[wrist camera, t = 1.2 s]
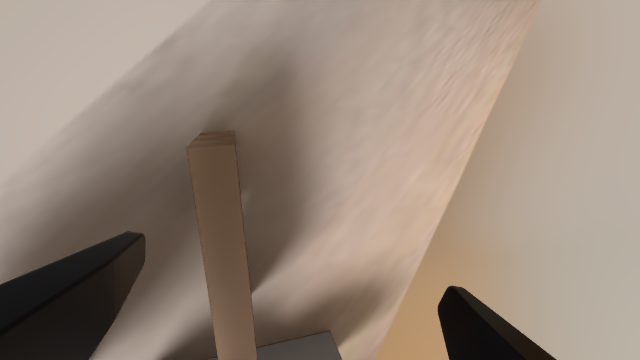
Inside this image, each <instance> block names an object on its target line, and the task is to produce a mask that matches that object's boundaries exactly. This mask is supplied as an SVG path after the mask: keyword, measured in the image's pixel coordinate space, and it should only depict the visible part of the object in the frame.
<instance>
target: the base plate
mask: <svg viewBox="0 0 640 360" xmlns="http://www.w3.org/2000/svg"><path fill="white" fill-rule="evenodd" d="M256 353H257V360H342V358H341V356H340V353H339V351H338V348H337V346H336V344H335V341H334V339H333V336H332V334H331V332H330V331H328V332H323V333H319V334H315V335H310V336H306V337H302V338H297V339H293V340H289V341H284V342H280V343H276V344H272V345H267V346H263V347H259V348H256ZM207 360H218V357H216V358H211V359H207Z"/></svg>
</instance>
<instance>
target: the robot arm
mask: <svg viewBox="0 0 640 360" xmlns="http://www.w3.org/2000/svg"><path fill="white" fill-rule="evenodd" d="M145 241H146V239H145V235H144V234H142V233H136V232H125V233H123V234H120V235H118V236H116V237H113V238H111V239H108V240H106V241H104V242H101V243H99V244H96V245H94V246H92V247H89V248H87V249H84V250H82V251H80V252H77V253H75V254H72V255H70V256H68V257H65V258H63V259H60V260H58V261H56V262H53V263H51V264H48V265H46V266H44V267H41V268H39V269H36V270H34V271H32V272H29V273H27V274H24V275H22V276H20V277H17V278H15V279H13V280H10V281H8V282H5V283H3V284H1V285H0V360H89V358H90V357H91V355H92V354H93V352H94V351H95V349H96V348H97V346H98V344H99V343H100V341H101V340H102V338H103V337H104V335H105V334H106V332H107V331H108V329H109V328H110V326H111V325H112V323H113V322H114V320H115V318H116V317H117V315H118V313H119V311H120V309H121V307H122V306H123V304H124V302H125V300H126V298H127V296H128V294H129V292H130V290H131V288H132V286H133V284H134V283H135V281H136V279H137V277H138V275H139V273H140V271H141V269H142V267H143V265H144V261H145ZM438 315H439V319H440V323H441V328H442V332H443V336H444V340H445V344H446V348H447V352H448V356H449V360H556V359H555V358H554V357H552V356H551V355H549V354H548V353H547V352H546V351H545V350H543V349H542V348H541V347H539V346H538V345H537V344H536V343H534V342H533V341H532V340H530V339H529V338H528V337H526V336H525V335H524V334H522V333H521V332H520V331H519V330H517V329H516V328H515V327H513V326H512V325H511V324H510V323H508V322H507V321H506V320H504V319H503V318H502V317H500V316H499V315H498V314H496V313H495V312H494V311H493V310H491V309H490V308H489V307H487V306H486V305H485V304H484V303H482V302H481V301H480V300H478V299H477V298H476V297H475V296H473V295H472V294H471V293H469V292H468V291H467V290H466V289H464V288H462V287H456V286H449V287H448V288H447V289H446V291H445V293H444V295H443V297H442V299H441V301H440V303H439V305H438Z"/></svg>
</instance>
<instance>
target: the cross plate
mask: <svg viewBox="0 0 640 360" xmlns="http://www.w3.org/2000/svg"><path fill="white" fill-rule="evenodd" d="M187 153H188V160H189V166H190V173H191V180H192V187H193V193H194V200H195V207H196V214H197V220H198V227H199V234H200V241H201V247H202V254H203V261H204V268H205V274H206V281H207V288H208V295H209V301H210V308H211V315H212V322H213V329H214V335H215V342H216V349H217V356H218V360H257V353H256V342H255V331H254V320H253V309H252V298H251V288H250V279H249V269H248V260H247V250H246V242H245V235H244V226H243V216H242V205H241V193H240V184H239V174H238V164H237V155H236V145H235V136H234V131H232V132H215V133H200V134H199V136H198V137H197V138H196V139H195V140H194V141H193V142H192V143H191V144H190V145H189V146H188V147H187Z"/></svg>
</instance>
